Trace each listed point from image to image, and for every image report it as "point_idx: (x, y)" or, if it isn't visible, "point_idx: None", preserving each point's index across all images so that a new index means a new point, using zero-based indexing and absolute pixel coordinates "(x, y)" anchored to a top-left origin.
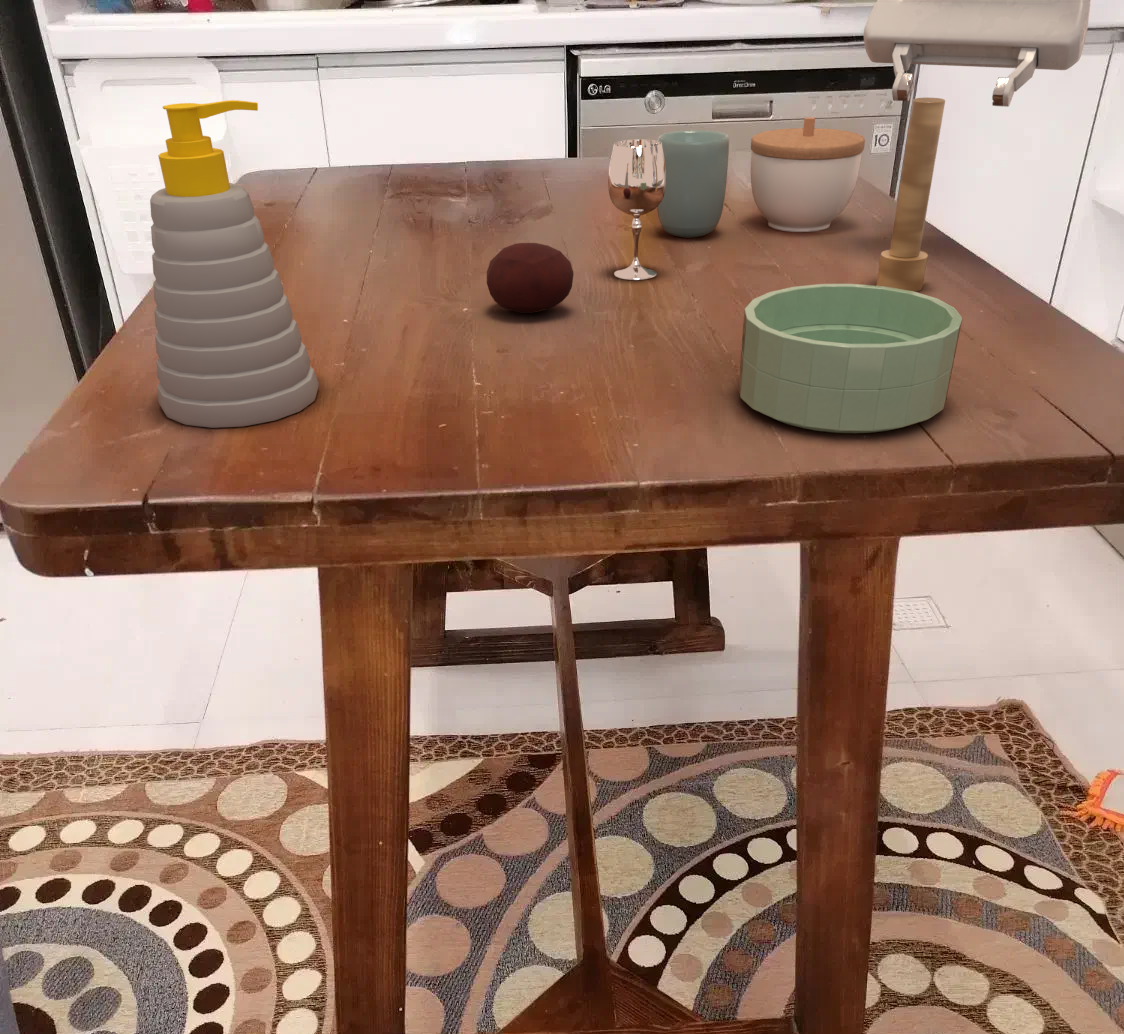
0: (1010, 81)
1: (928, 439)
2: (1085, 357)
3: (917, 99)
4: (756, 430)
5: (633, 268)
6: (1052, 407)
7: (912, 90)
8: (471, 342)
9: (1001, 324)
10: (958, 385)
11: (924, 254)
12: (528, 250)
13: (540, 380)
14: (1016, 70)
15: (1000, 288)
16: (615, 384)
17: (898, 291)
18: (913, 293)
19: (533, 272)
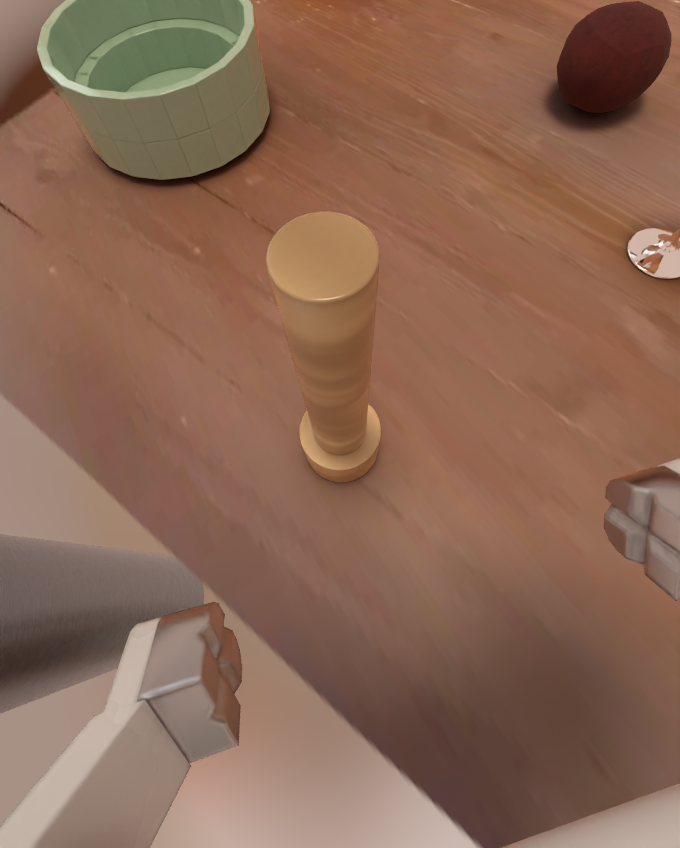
0: (126, 682)
1: None
2: (11, 344)
3: (356, 233)
4: None
5: (660, 238)
6: (12, 209)
7: (655, 581)
8: (537, 33)
9: (138, 388)
10: (106, 201)
11: (312, 452)
12: (616, 8)
13: (409, 22)
14: (85, 762)
15: (208, 553)
16: (355, 47)
17: (137, 91)
18: (119, 93)
19: (577, 23)
